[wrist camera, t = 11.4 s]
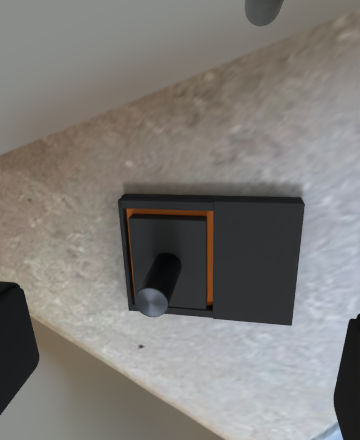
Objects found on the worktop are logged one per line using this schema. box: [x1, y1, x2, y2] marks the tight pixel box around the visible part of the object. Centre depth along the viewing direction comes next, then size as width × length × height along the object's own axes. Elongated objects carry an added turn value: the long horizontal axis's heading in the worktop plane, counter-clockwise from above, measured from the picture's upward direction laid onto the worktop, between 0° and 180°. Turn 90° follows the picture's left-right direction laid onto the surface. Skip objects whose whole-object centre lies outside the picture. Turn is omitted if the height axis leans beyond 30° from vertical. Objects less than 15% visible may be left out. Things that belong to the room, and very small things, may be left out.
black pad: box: [128, 214, 207, 317], centre depth 28 cm, size 9×7×7 cm
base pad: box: [118, 194, 305, 326], centre depth 30 cm, size 12×16×2 cm
